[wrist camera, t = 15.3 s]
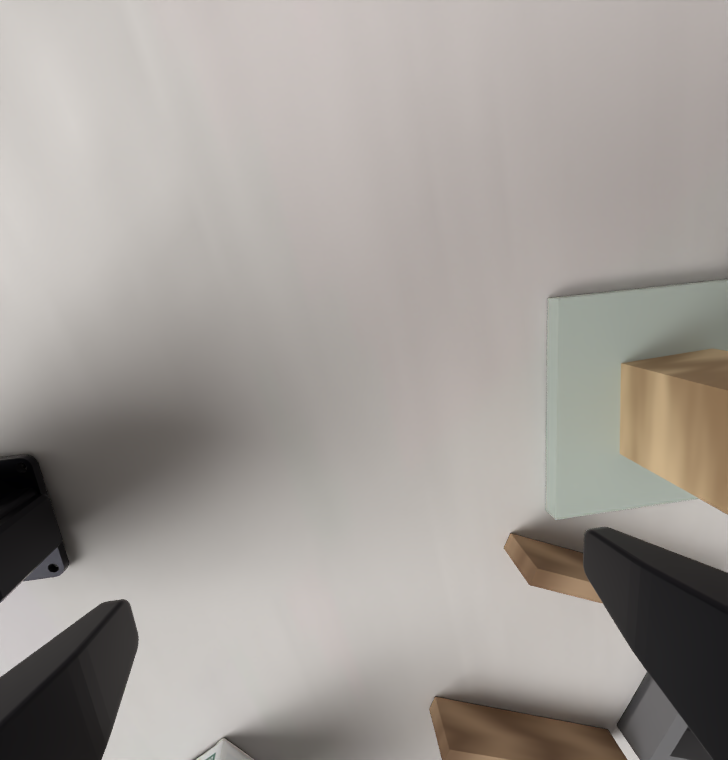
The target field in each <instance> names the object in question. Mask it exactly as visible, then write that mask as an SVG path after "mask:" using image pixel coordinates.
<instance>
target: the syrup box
mask: <svg viewBox="0 0 728 760" xmlns="http://www.w3.org/2000/svg"><path fill="white" fill-rule="evenodd" d="M196 760H254V759H253V758H251V757H250V756H249V755H247V754H246V753H245V752H243V751H242V750H240V749H239V748H238V747H236V746H235V745H234V744H232V743H231V742H229V741H227V740H226V739H225V738H223V739H221V740H220V741H219V742H217V743H216V745H215V746H214V747H213V748H211V749H210V750H209V751H207V752H206V753H205V754H203V755H202V756H200V757H199V758H197V759H196Z"/></svg>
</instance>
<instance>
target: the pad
mask: <svg viewBox="0 0 728 760" xmlns="http://www.w3.org/2000/svg"><path fill="white" fill-rule="evenodd" d="M712 348H713V349H719V350H725V351H728V279H723V280H714V281H704V282H695V283H685V284H676V285H667V286H657V287H648V288H638V289H629V290H619V291H610V292H601V293H591V294H582V295H572V296H563V297H553V298H548V304H547V409H546V511H547V512H548V513H549V514H550V515H551V516H552V517H553V518H554V519H555V520H559V519H566V518H573V517H579V516H586V515H593V514H599V513H606V512H613V511H619V510H626V509H633V508H640V507H646V506H653V505H660V504H666V503H673V502H680V501H686V500H693V499H699V498H697V497H696V496H694V495H692V494H690V493H688V492H687V491H685V490H683V489H681V488H680V487H678V486H676V485H674V484H672V483H671V482H669V481H667V480H665V479H664V478H662V477H660V476H658V475H656V474H655V473H653V472H651V471H649V470H648V469H646V468H644V467H642V466H640V465H639V464H637V463H635V462H633V461H632V460H630V459H628V458H626V457H624V456H623V455H621V454H620V393H621V363H625V362H632V361H638V360H644V359H650V358H656V357H663V356H669V355H675V354H681V353H687V352H694V351H700V350H706V349H712Z"/></svg>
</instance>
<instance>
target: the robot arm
mask: <svg viewBox="0 0 728 760" xmlns="http://www.w3.org/2000/svg"><path fill="white" fill-rule="evenodd" d="M21 463H23V464H25V465H26V466H27V469H25V468H23V467H22V465H21ZM54 564H56V565H58V567H56V566H54ZM68 565H69V561H68V558H67V555H66V551H65V548H64V545H63V542H62V537H61V533H60V530H59V527H58V524H57V521H56V517H55V514H54V511H53V508H52V504H51V501H50V498H49V496H48V493H47V490H46V487H45V484H44V480H43V477H42V474H41V471H40V467H39V464H38V462H37V460H36V459H35V458H34V457H33V456H30V455H17V456H9V457H1V458H0V603H1V602H2V601H3V600H4V599H5V598H6V597H7V596H8V595H9V594H10V593H11V592H12V591H13V590H14V589H15V588H16V587H17V586H18V585H19V584H20V583H21V582H22V581H29V580H36V579H43V578H50V577H56V576H59V575H61V574H62V573H63V572H64V571H65V570H66V569H67V567H68ZM583 567H584V571H585V574H586V576H587V578H588V580H589V582H590V583H591V585H592V586H593V588H594V590H595V591H596V593H597V595H598V596H599V598H600V599H601V601H602V603H603V604H604V606H605V608H606V609H607V611H608V612H609V614H610V616H611V617H612V619H613V620H614V622H615V624H616V625H617V627H618V629H619V630H620V632H621V633H622V635H623V637H624V638H625V640H626V641H627V643H628V644H629V646H630V648H631V649H632V651H633V652H634V654H635V655H636V656H637V658H638V659H639V661H640V662H641V663H642V665H643V666H644V668H645V669H646V670H647V672H648V673H649V674H650V676H651V677H652V678H653V680H654V681H655V682H656V684H657V685H658V686H659V688H660V689H661V691H662V692H663V693H664V695H665V696H666V697H667V699H668V700H669V701H670V703H671V704H672V705H673V707H674V708H675V709H676V711H677V712H678V713H679V715H680V716H681V717H682V719H683V720H684V722H685V723H686V724H687V726H688V727H689V728H690V730H691V731H692V732H693V734H694V735H695V736H696V738H697V739H698V740H699V742H700V743H701V744H702V746H703V747H704V749H705V750H706V751H707V753H708V754H709V755H710V757H711V758H712V759H713V760H728V573H727V572H724V571H721V570H719V569H716V568H713V567H711V566H708V565H706V564H703V563H700V562H698V561H695V560H692V559H690V558H687V557H685V556H682V555H679V554H677V553H674V552H671V551H669V550H666V549H664V548H661V547H658V546H656V545H653V544H650V543H648V542H645V541H643V540H640V539H637V538H635V537H632V536H629V535H627V534H624V533H622V532H619V531H616V530H614V529H611V528H608V527H600V528H594V529H588V530H587V531H586V532H585V534H584V549H583ZM138 640H139V639H138V632H137V628H136V624H135V621H134V617H133V613H132V610H131V606H130V604H129V602H128V601H127V600H124V599H121V600H114V601H108V602H104V603H101V604H100V605H98V606H97V607H96V608H94V609H93V610H91V611H90V612H89V613H87V614H86V615H85V616H83V617H82V618H81V619H79V620H78V621H76V622H75V623H74V624H72V625H71V626H70V627H68V628H67V629H66V630H64V631H63V632H61V633H60V634H59V635H57V636H56V637H55V638H53V639H52V640H51V641H49V642H48V643H46V644H45V645H44V646H42V647H41V648H40V649H38V650H37V651H36V652H34V653H33V654H31V655H30V656H29V657H27V658H26V659H25V660H23V661H22V662H21V663H19V664H18V665H16V666H15V667H14V668H12V669H11V670H10V671H8V672H7V673H6V674H4V675H3V676H1V677H0V760H101V759H102V757H103V754H104V751H105V749H106V746H107V743H108V740H109V737H110V735H111V732H112V729H113V725H114V722H115V719H116V716H117V713H118V709H119V706H120V703H121V700H122V697H123V693H124V690H125V687H126V684H127V681H128V677H129V674H130V671H131V668H132V665H133V661H134V658H135V655H136V652H137V648H138Z"/></svg>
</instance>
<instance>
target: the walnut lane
mask: <svg viewBox="0 0 728 760" xmlns="http://www.w3.org/2000/svg"><path fill="white" fill-rule="evenodd" d="M504 549H505V551H506V552H507V553H508V555H509V556H510V558H511V559H512V561H513V562H514V564H515V565H516V566H517V568H518V569H519V571H520V572H521V574H522V575H523V576H524V578H525V579H526V581H527V582H528V584H529V585H531V586H535V587H539V588H543V589H547V590H551V591H555V592H559V593H563V594H567V595H571V596H575V597H579V598H583V599H587V600H591V601H595V602H599V603H602V601H601V599H600V598H599V596H598V595H597V593H596V591H595V590H594V588H593V586H592V585H591V583H590V582H589V580H588V578H587V576H586V574H585V571H584V567H583V553H581V552H577V551H574V550H570V549H566V548H563V547H559V546H555V545H552V544H548V543H544V542H541V541H537V540H533V539H530V538H526V537H522V536H519V535H515V534H511V533H510V536H509V538H508V540H507V542H506V544H505V546H504ZM429 710H430V714H431V718H432V722H433V726H434V730H435V733H436V737H437V741H438V745H439V749H440V753H441V757H442V760H627V758H626V757H625V755H624V754H623V752H622V751H621V749H620V748H619V746H618V744H617V743H616V741H615V740H614V738H613V737H612V735H611V734H610V732H609V730H608V729H603V728H597V727H592V726H587V725H581V724H576V723H571V722H566V721H560V720H555V719H550V718H545V717H539V716H534V715H529V714H523V713H518V712H513V711H508V710H502V709H497V708H492V707H487V706H481V705H476V704H471V703H465V702H460V701H455V700H450V699H444V698H439V697H435V698H434V700H433V702H432V704H431V707H430V709H429Z"/></svg>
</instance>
